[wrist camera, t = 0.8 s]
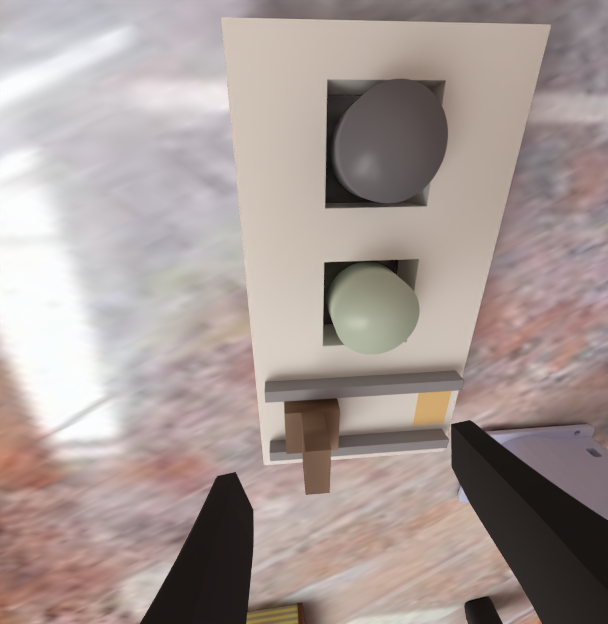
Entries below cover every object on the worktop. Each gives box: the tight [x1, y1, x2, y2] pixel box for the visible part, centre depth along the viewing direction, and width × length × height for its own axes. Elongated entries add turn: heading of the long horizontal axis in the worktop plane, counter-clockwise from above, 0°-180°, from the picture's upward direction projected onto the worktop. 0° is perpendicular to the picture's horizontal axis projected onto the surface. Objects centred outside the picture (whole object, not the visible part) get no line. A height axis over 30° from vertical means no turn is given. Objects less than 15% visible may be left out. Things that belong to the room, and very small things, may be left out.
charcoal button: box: [330, 79, 448, 203], centre depth 12 cm, size 4×4×2 cm
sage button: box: [327, 262, 420, 355], centre depth 15 cm, size 4×4×2 cm
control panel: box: [221, 17, 551, 465], centre depth 16 cm, size 12×22×3 cm, turn 1°
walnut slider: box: [284, 398, 340, 495], centre depth 16 cm, size 3×3×4 cm
